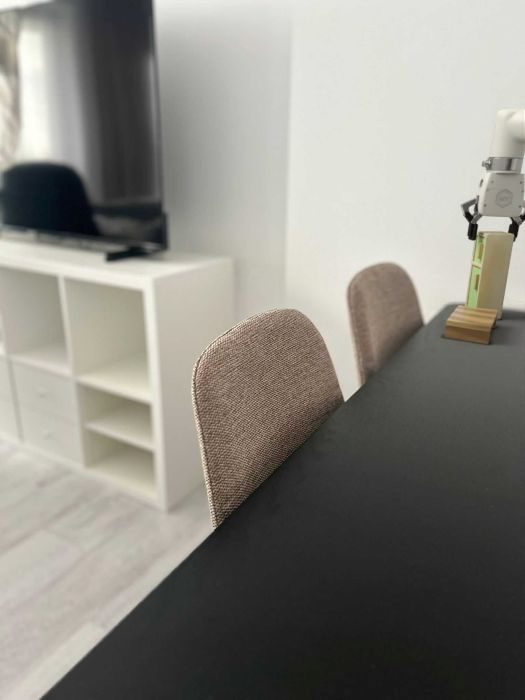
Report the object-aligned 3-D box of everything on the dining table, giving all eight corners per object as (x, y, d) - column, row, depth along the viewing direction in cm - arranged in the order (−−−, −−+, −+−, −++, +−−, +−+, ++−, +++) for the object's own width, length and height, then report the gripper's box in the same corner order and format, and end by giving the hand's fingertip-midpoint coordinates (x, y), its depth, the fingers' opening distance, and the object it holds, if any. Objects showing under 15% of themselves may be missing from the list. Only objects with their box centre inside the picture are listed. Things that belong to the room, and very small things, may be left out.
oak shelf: (456, 320, 127) (458, 305, 125) (495, 326, 122) (498, 310, 121) (444, 337, 113) (446, 320, 112) (487, 344, 109) (491, 326, 108)
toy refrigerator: (460, 310, 136) (472, 230, 129) (488, 311, 136) (502, 230, 129) (471, 319, 128) (484, 233, 121) (500, 319, 128) (515, 234, 121)
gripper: (474, 165, 117) (461, 241, 122) (549, 167, 117) (533, 243, 123) (461, 165, 124) (450, 237, 129) (532, 167, 124) (518, 239, 130)
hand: (491, 240), depth 126 cm, fingers open, 9 cm apart
